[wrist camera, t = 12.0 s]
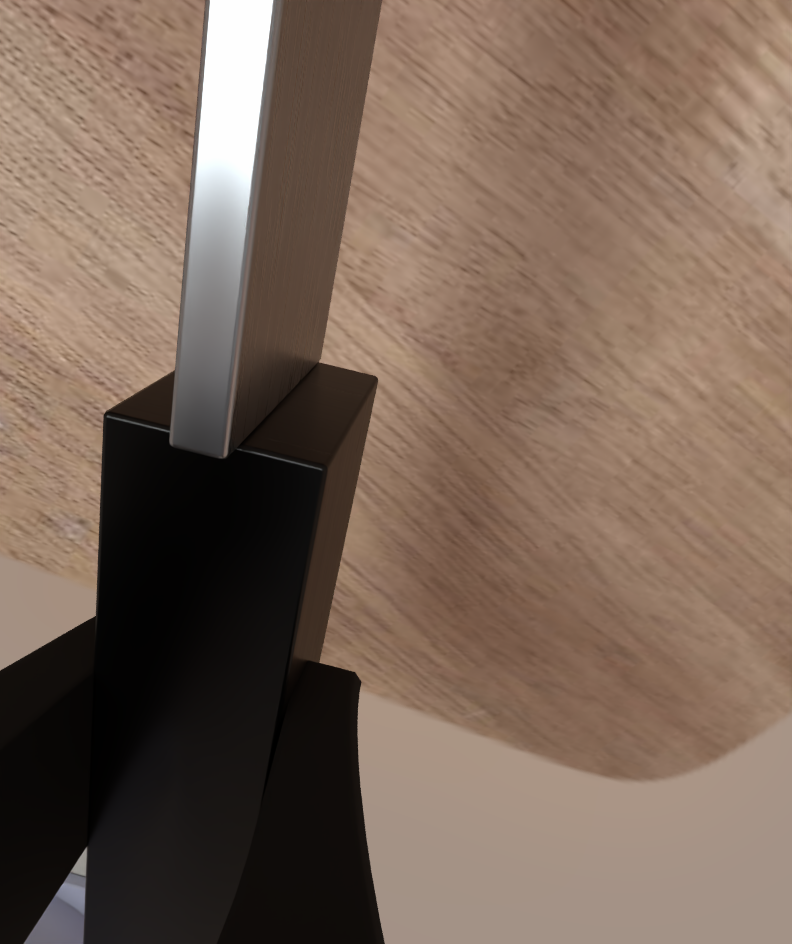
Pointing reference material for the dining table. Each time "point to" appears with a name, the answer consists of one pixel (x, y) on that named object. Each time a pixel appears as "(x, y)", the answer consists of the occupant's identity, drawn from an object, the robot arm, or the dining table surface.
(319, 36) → the cake knife
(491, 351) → the dining table surface
